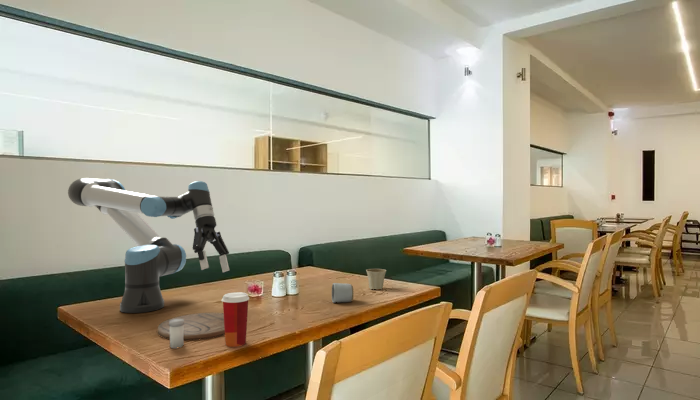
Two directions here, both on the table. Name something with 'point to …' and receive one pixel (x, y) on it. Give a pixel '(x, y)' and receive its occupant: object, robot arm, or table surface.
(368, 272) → the flower pot
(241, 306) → the paper cup
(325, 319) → the table surface
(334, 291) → the ceramic mug
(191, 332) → the trivet
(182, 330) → the salt shaker
